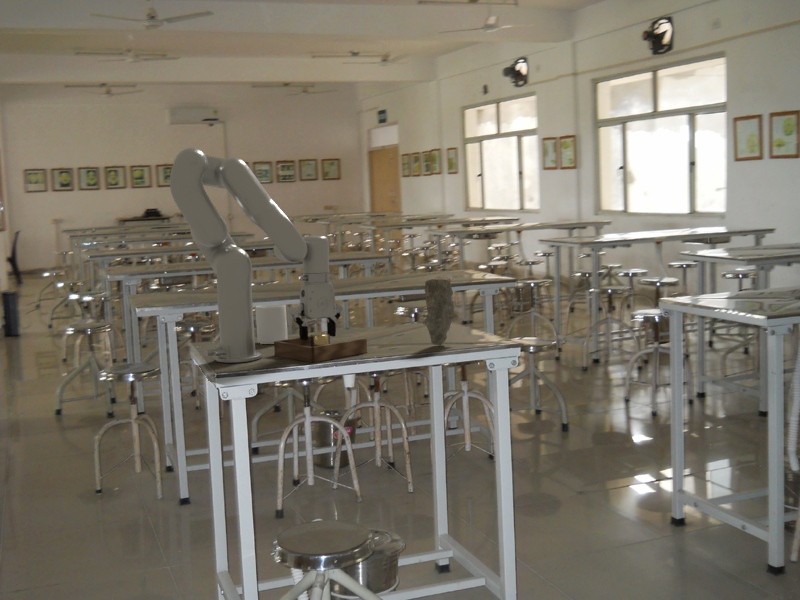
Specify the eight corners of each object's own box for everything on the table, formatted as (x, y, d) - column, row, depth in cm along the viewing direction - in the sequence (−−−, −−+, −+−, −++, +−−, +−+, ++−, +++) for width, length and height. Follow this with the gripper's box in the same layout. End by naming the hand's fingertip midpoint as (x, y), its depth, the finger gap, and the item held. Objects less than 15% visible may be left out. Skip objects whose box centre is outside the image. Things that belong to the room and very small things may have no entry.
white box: (259, 346, 251) (257, 308, 249) (254, 340, 262) (252, 304, 261) (290, 343, 254) (288, 306, 252) (283, 338, 265) (281, 302, 264)
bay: (312, 362, 219) (311, 347, 218) (274, 355, 233) (274, 341, 232) (367, 352, 231) (366, 338, 231) (328, 346, 245) (327, 332, 245)
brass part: (320, 357, 226) (319, 336, 225) (311, 356, 229) (310, 335, 228) (331, 355, 229) (330, 334, 228) (323, 354, 232) (322, 333, 231)
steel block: (319, 353, 233) (318, 336, 233) (311, 352, 236) (310, 335, 236) (330, 351, 236) (329, 334, 235) (322, 350, 239) (321, 333, 238)
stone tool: (427, 348, 233) (425, 279, 231) (418, 346, 238) (415, 278, 236) (463, 344, 239) (461, 276, 237) (453, 341, 244) (451, 275, 242)
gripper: (298, 281, 226) (300, 342, 227) (348, 277, 237) (349, 336, 239) (283, 280, 231) (285, 339, 233) (333, 276, 243) (334, 333, 244)
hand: (317, 337), depth 236 cm, fingers open, 9 cm apart
